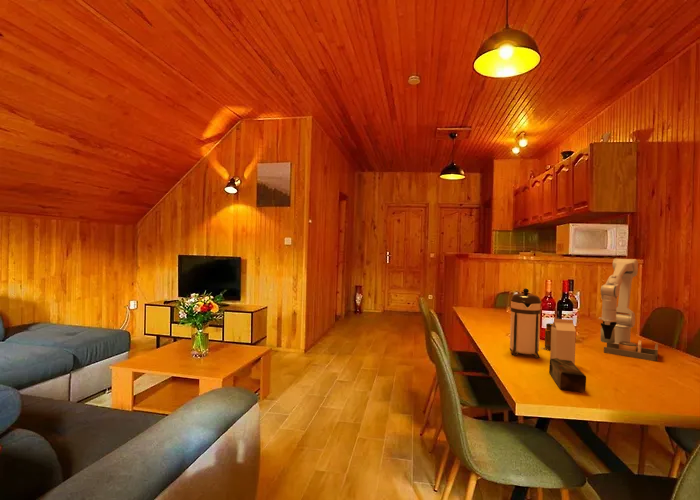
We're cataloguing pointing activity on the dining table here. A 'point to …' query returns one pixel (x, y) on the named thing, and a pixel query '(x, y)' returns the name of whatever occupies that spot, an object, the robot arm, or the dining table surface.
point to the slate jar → (611, 340)
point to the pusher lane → (645, 352)
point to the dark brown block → (567, 375)
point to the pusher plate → (639, 346)
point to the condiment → (548, 336)
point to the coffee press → (525, 324)
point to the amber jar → (627, 346)
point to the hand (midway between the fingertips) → (608, 337)
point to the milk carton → (563, 340)
